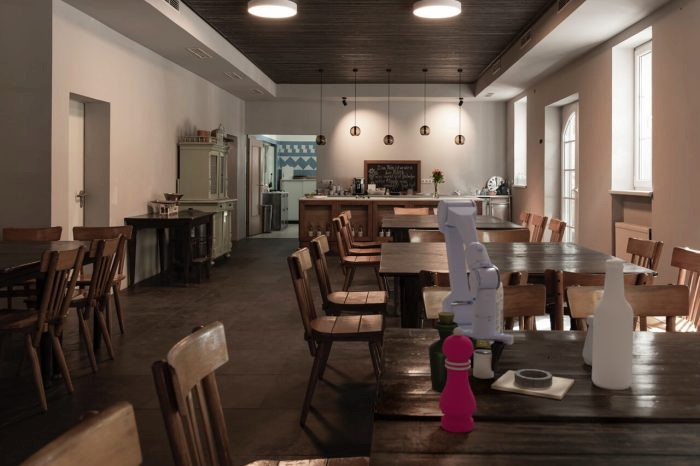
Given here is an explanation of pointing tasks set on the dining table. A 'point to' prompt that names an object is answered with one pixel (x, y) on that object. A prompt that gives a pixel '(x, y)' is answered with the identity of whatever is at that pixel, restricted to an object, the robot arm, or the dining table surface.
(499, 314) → the juice carton
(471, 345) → the pepper mill
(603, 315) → the alcohol
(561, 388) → the stand
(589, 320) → the salt shaker
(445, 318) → the potion bottle
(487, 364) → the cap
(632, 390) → the dining table surface
